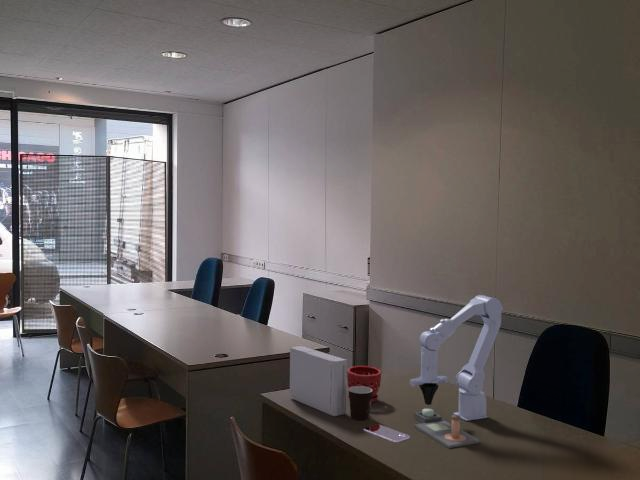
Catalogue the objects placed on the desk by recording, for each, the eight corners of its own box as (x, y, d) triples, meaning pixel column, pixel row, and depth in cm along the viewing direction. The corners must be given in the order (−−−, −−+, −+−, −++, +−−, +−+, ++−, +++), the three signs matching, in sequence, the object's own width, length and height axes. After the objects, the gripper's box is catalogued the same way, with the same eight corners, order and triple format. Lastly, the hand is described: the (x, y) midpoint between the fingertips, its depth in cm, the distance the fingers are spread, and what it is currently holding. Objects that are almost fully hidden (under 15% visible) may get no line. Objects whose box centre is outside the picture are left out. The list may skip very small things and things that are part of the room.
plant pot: (341, 402, 235) (342, 372, 235) (353, 393, 247) (353, 364, 247) (374, 407, 230) (375, 376, 230) (384, 397, 242) (385, 367, 242)
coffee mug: (364, 423, 213) (365, 394, 213) (343, 418, 218) (343, 390, 217) (379, 414, 223) (380, 386, 223) (358, 409, 228) (359, 382, 227)
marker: (456, 435, 201) (456, 414, 201) (461, 438, 198) (461, 416, 198) (449, 436, 200) (449, 415, 199) (454, 439, 197) (454, 417, 197)
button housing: (430, 415, 222) (430, 410, 222) (441, 422, 216) (441, 416, 215) (413, 418, 219) (414, 412, 219) (424, 424, 213) (424, 418, 213)
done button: (429, 414, 220) (429, 408, 220) (435, 418, 216) (436, 411, 216) (419, 416, 218) (420, 409, 218) (426, 419, 215) (426, 412, 215)
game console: (333, 417, 219) (334, 362, 218) (289, 398, 240) (289, 347, 239) (346, 414, 223) (347, 359, 222) (300, 395, 244) (301, 345, 243)
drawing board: (443, 422, 215) (443, 419, 215) (480, 442, 197) (480, 440, 197) (414, 426, 211) (414, 424, 211) (448, 448, 192) (448, 445, 192)
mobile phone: (377, 422, 212) (411, 435, 201) (377, 425, 212) (411, 438, 201) (362, 427, 207) (396, 440, 196) (362, 430, 207) (395, 444, 196)
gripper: (417, 370, 210) (416, 409, 211) (453, 366, 216) (451, 405, 216) (406, 365, 216) (405, 403, 217) (441, 362, 222) (440, 399, 223)
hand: (428, 403), depth 217 cm, fingers closed
